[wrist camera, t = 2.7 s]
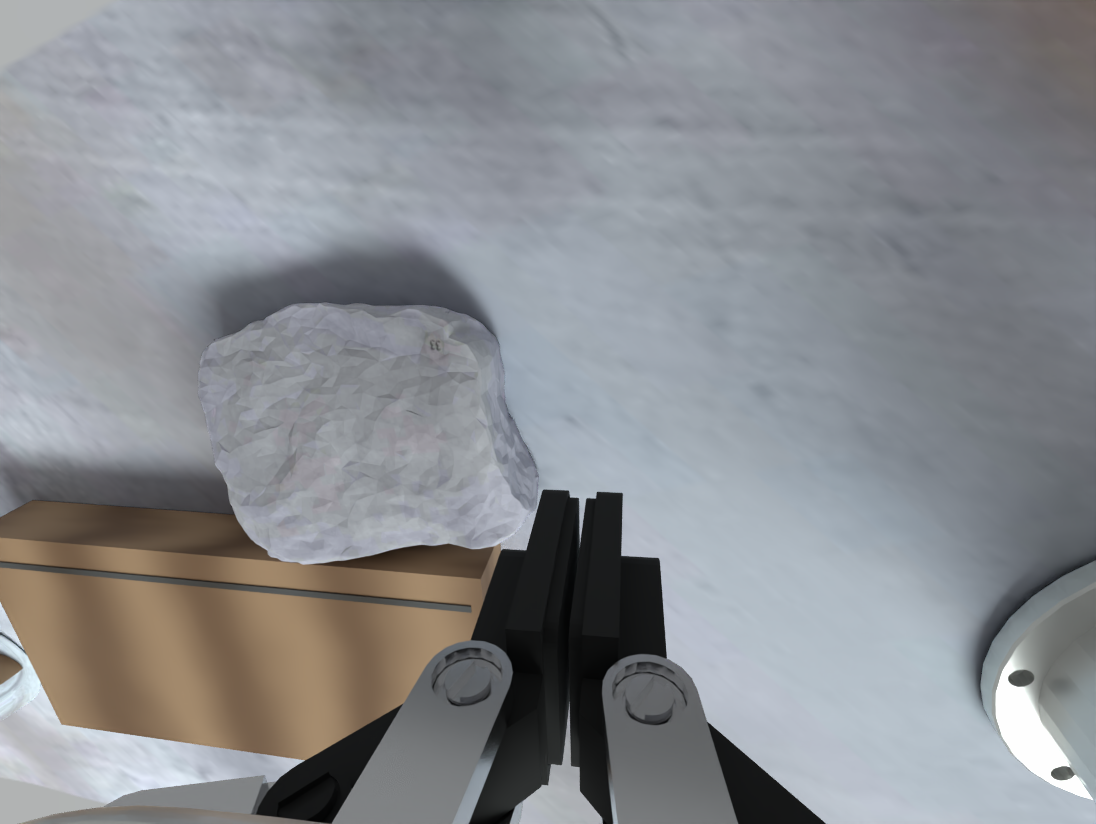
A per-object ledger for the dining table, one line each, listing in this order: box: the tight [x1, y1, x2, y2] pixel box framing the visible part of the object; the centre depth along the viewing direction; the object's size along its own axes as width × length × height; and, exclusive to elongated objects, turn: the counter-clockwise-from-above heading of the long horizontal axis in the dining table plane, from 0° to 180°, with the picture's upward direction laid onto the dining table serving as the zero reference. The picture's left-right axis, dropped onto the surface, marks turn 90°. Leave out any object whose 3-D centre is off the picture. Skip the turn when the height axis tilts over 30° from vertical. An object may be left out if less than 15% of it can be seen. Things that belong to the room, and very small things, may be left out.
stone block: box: [198, 302, 539, 565], centre depth 22 cm, size 12×5×10 cm
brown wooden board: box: [0, 500, 501, 760], centre depth 27 cm, size 24×12×3 cm, turn 92°
